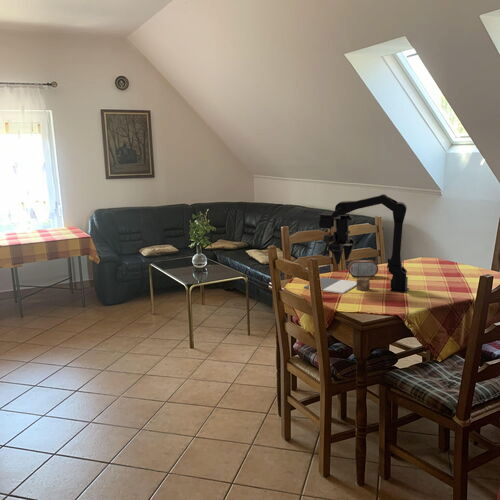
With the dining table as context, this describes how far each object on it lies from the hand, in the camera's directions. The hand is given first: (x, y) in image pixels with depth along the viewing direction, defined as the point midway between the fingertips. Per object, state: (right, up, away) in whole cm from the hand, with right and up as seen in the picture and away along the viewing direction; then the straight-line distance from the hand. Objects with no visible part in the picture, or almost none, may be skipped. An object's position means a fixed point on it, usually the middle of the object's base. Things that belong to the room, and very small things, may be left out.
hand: (342, 262), depth 233 cm
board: (-4, -11, +5) cm, 13 cm away
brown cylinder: (+9, -13, -2) cm, 16 cm away
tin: (+14, -8, +20) cm, 26 cm away
